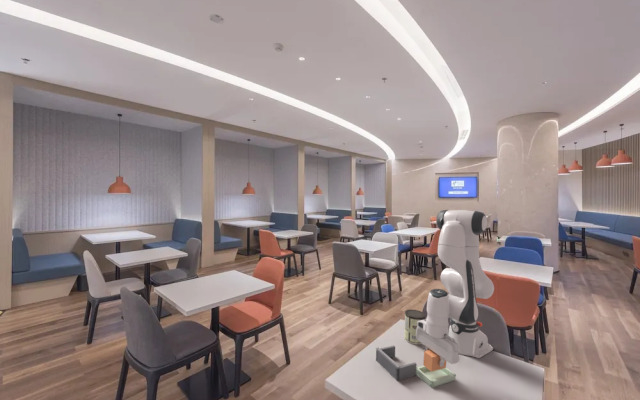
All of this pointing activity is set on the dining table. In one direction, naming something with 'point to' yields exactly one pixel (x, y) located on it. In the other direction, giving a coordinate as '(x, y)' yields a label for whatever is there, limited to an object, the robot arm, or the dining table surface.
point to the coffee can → (412, 325)
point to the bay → (394, 364)
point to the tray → (435, 376)
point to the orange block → (432, 361)
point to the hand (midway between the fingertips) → (435, 361)
